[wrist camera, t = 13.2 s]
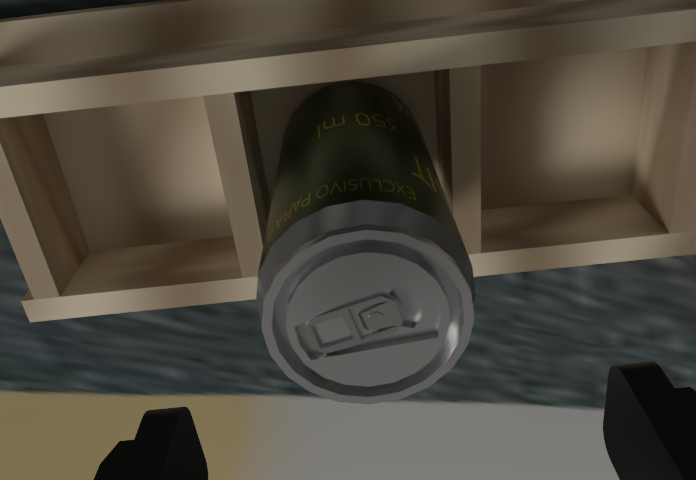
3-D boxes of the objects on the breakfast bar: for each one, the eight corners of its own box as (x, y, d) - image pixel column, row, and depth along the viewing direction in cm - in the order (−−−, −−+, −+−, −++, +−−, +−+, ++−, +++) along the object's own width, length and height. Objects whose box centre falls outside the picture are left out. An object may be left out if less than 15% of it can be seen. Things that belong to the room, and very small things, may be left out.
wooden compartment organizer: (703, -62, 23) (781, -53, 19) (659, 230, 29) (712, 284, 25) (-31, 22, 24) (-103, 48, 20) (70, 292, 29) (30, 354, 25)
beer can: (313, 221, 27) (303, 434, 16) (261, 104, 24) (210, 266, 14) (435, 180, 26) (508, 375, 16) (395, 55, 24) (449, 185, 13)
